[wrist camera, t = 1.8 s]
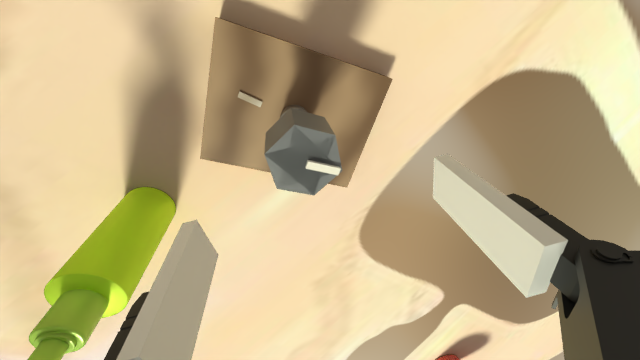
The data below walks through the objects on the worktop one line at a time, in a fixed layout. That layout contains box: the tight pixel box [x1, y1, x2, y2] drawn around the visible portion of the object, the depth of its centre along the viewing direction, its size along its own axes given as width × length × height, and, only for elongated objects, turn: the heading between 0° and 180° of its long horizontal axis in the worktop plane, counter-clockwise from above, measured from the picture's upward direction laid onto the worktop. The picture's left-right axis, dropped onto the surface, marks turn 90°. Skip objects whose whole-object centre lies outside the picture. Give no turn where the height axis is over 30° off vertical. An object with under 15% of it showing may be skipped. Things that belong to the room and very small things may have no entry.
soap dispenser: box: [28, 187, 176, 360], centre depth 24 cm, size 6×7×20 cm
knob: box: [264, 108, 342, 195], centre depth 20 cm, size 6×5×5 cm
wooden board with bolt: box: [200, 17, 392, 187], centre depth 26 cm, size 18×14×8 cm
